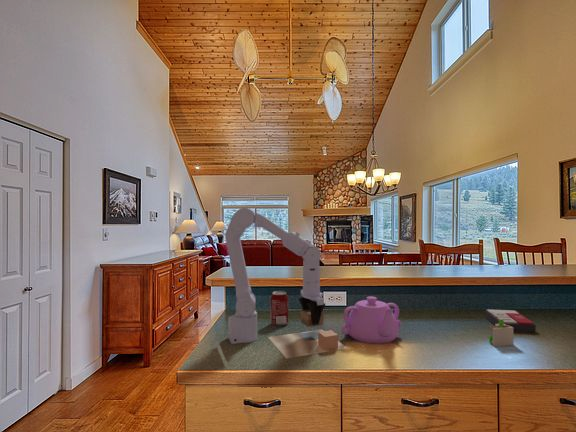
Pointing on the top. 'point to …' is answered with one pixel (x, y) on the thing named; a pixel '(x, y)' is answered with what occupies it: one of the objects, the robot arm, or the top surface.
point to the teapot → (372, 321)
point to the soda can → (279, 308)
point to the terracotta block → (328, 340)
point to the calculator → (511, 320)
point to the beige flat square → (300, 344)
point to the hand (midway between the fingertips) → (311, 321)
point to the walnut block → (309, 318)
